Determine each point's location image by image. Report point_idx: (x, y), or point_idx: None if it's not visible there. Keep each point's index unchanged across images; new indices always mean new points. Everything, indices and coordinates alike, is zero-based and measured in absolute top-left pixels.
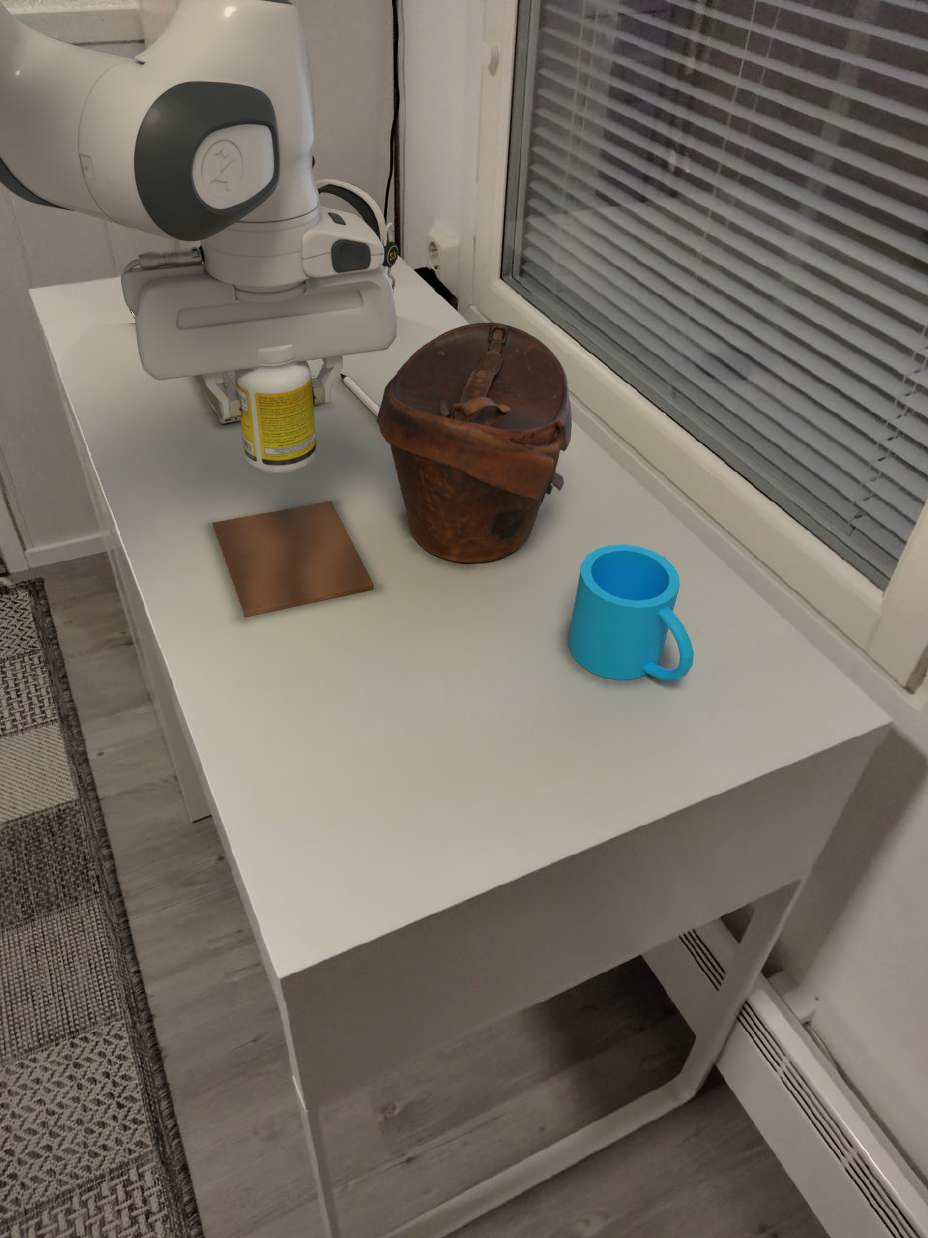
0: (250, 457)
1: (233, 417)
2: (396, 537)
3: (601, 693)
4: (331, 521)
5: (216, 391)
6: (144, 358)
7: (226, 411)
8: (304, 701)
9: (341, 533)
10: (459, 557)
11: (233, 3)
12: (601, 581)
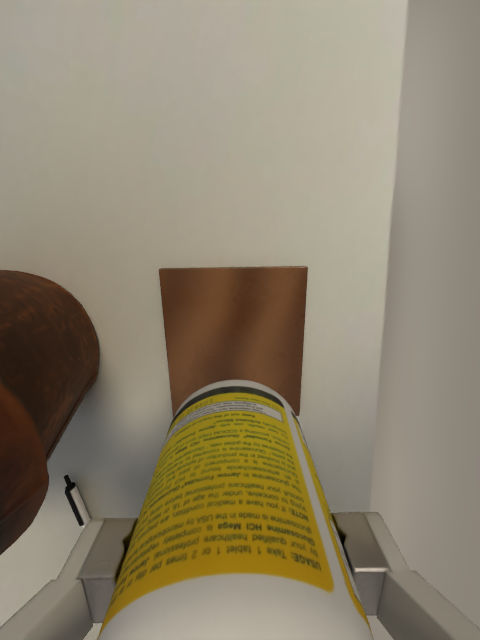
0: (298, 423)
1: (354, 512)
2: (116, 346)
3: None
4: (180, 385)
5: (454, 621)
6: None
7: (382, 533)
8: (281, 102)
9: (174, 363)
10: (47, 282)
11: None
12: None
